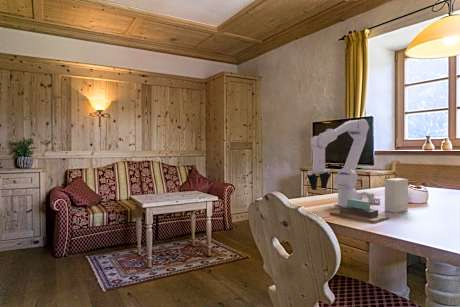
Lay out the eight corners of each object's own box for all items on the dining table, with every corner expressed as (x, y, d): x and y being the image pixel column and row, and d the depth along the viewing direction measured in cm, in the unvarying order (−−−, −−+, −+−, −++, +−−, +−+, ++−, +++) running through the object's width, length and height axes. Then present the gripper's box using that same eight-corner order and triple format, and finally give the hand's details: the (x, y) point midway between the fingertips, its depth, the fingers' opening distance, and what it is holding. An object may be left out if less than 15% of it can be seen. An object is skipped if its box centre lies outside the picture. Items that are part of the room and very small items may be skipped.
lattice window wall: (380, 204, 159) (380, 192, 158) (379, 204, 157) (379, 193, 157) (356, 201, 166) (356, 190, 166) (355, 202, 165) (355, 191, 165)
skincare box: (397, 208, 147) (397, 177, 146) (408, 211, 141) (408, 178, 141) (383, 210, 144) (383, 178, 143) (394, 213, 138) (394, 179, 138)
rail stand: (345, 210, 144) (345, 203, 144) (388, 218, 128) (388, 210, 128) (329, 214, 137) (329, 206, 137) (373, 223, 121) (373, 214, 121)
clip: (350, 212, 137) (350, 198, 137) (370, 215, 130) (370, 201, 130) (347, 212, 136) (347, 199, 135) (366, 216, 128) (366, 202, 128)
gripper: (316, 161, 142) (316, 191, 142) (335, 160, 150) (335, 188, 151) (303, 161, 147) (304, 189, 148) (322, 160, 156) (322, 186, 157)
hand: (318, 189), depth 150 cm, fingers open, 7 cm apart
